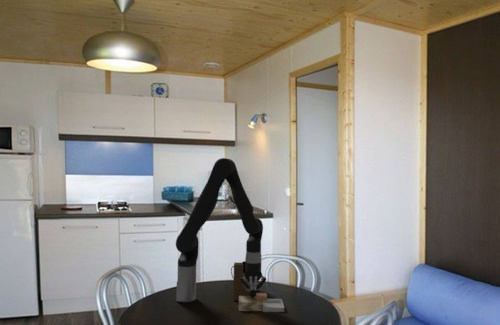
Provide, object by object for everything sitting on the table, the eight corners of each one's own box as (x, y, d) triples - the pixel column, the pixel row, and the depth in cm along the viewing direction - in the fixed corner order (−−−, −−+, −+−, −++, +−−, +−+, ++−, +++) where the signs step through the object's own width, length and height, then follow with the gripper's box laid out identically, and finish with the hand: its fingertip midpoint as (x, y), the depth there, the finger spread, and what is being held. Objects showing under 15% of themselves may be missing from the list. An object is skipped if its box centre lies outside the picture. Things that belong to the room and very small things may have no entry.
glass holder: (258, 292, 204) (258, 264, 204) (232, 293, 201) (232, 265, 201) (254, 287, 213) (255, 260, 213) (229, 288, 210) (229, 261, 210)
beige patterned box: (238, 310, 177) (239, 302, 177) (238, 304, 186) (238, 295, 186) (262, 310, 178) (262, 302, 178) (261, 304, 187) (261, 295, 187)
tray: (262, 312, 176) (263, 307, 176) (261, 302, 188) (261, 298, 188) (284, 312, 177) (284, 307, 177) (281, 302, 189) (281, 298, 189)
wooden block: (251, 298, 195) (252, 262, 195) (251, 301, 191) (251, 264, 191) (233, 297, 195) (234, 262, 196) (233, 300, 191) (233, 264, 191)
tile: (256, 300, 180) (256, 296, 180) (255, 297, 185) (255, 292, 185) (266, 300, 180) (267, 296, 180) (266, 297, 185) (266, 293, 185)
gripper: (239, 262, 178) (239, 300, 178) (267, 262, 179) (267, 300, 179) (239, 258, 186) (238, 294, 186) (266, 259, 186) (266, 294, 186)
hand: (252, 297), depth 182 cm, fingers closed
